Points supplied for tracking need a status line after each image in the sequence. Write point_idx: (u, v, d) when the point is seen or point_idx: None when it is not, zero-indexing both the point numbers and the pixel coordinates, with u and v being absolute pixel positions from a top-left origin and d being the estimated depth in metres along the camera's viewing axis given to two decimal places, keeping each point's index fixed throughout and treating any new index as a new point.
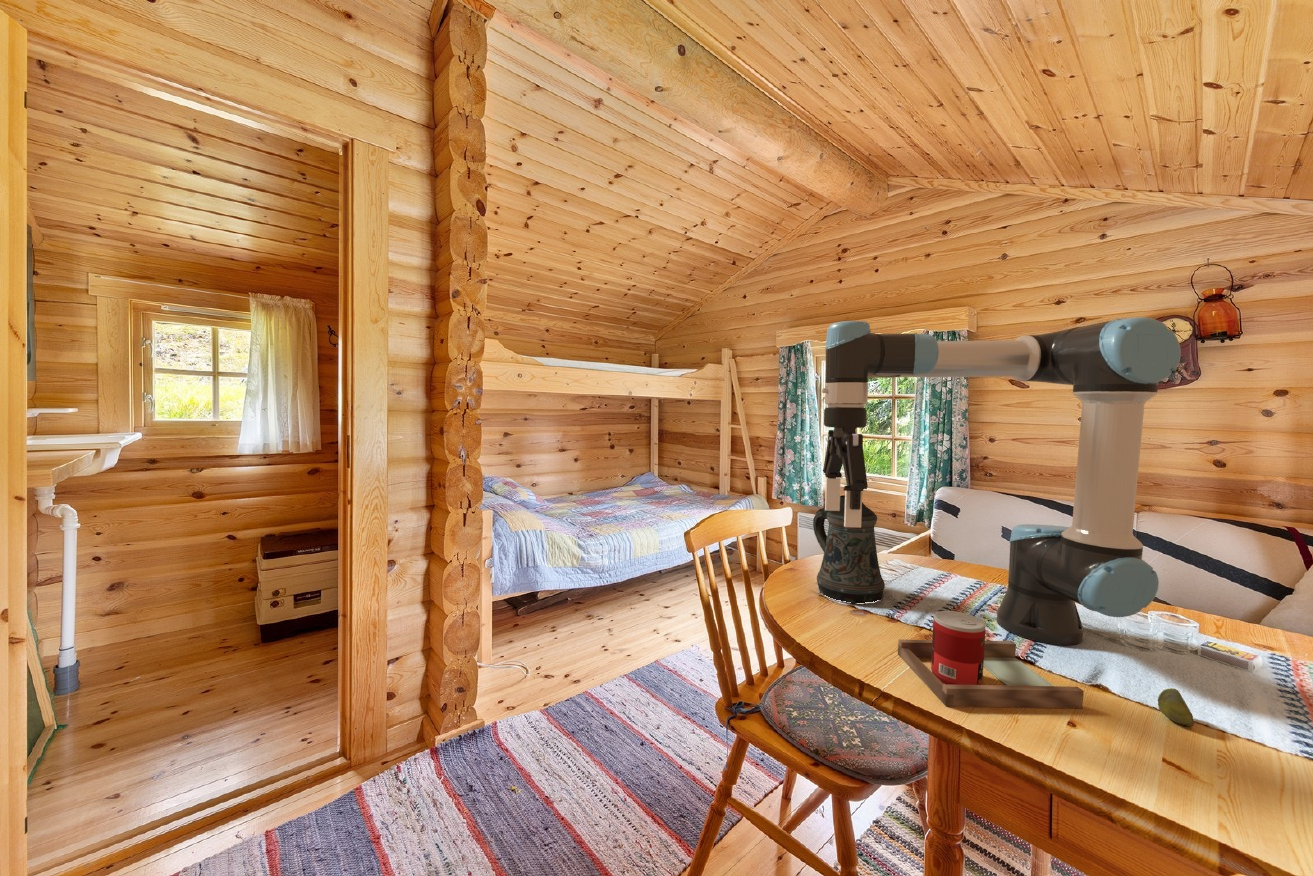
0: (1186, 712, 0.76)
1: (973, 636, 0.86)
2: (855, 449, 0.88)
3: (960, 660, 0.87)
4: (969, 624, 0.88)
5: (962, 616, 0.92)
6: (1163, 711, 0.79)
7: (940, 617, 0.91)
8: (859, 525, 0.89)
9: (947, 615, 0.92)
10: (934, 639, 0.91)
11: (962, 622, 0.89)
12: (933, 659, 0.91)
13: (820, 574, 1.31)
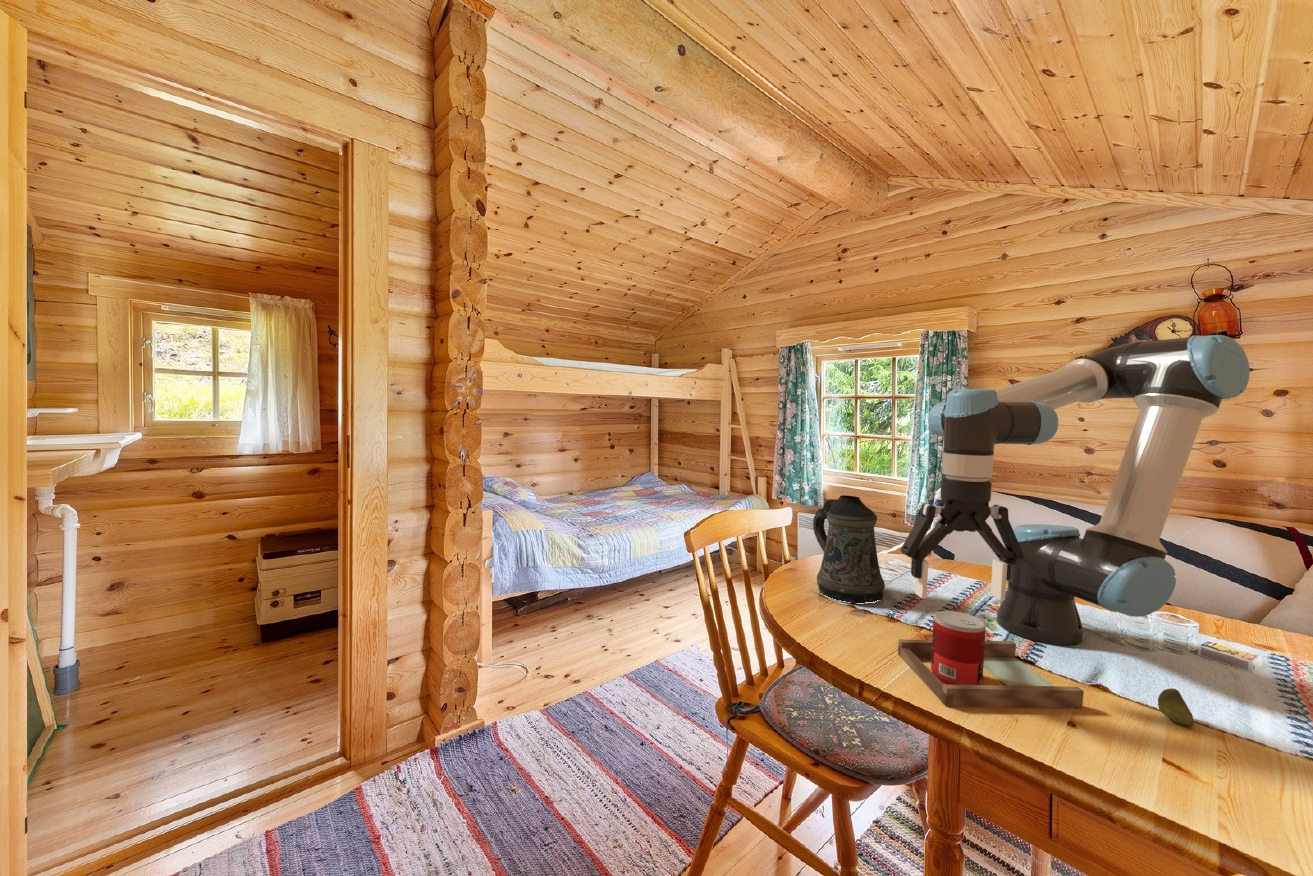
0: (1186, 712, 0.76)
1: (973, 636, 0.86)
2: (921, 518, 0.89)
3: (960, 660, 0.87)
4: (969, 624, 0.88)
5: (962, 616, 0.92)
6: (1163, 712, 0.79)
7: (940, 617, 0.91)
8: (921, 595, 0.89)
9: (947, 615, 0.92)
10: (934, 639, 0.91)
11: (962, 622, 0.89)
12: (933, 659, 0.91)
13: (820, 574, 1.31)
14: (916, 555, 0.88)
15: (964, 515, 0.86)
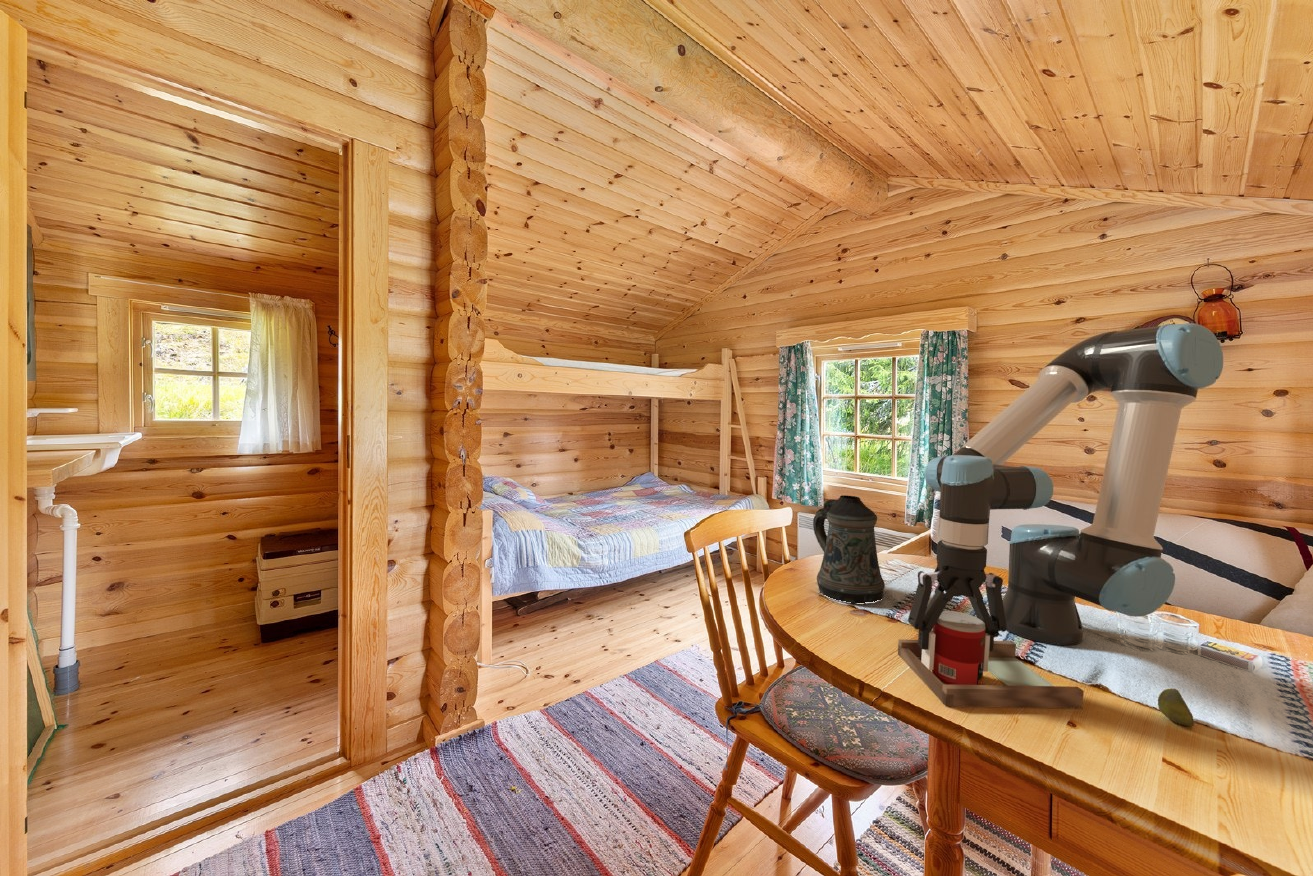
0: (1186, 712, 0.76)
1: (972, 636, 0.86)
2: (920, 588, 0.90)
3: (960, 660, 0.87)
4: (969, 624, 0.88)
5: (962, 616, 0.92)
6: (1163, 711, 0.79)
7: (940, 617, 0.91)
8: (928, 667, 0.89)
9: (947, 615, 0.92)
10: None
11: (962, 622, 0.89)
12: None
13: (820, 574, 1.31)
14: (923, 628, 0.89)
15: (959, 581, 0.87)
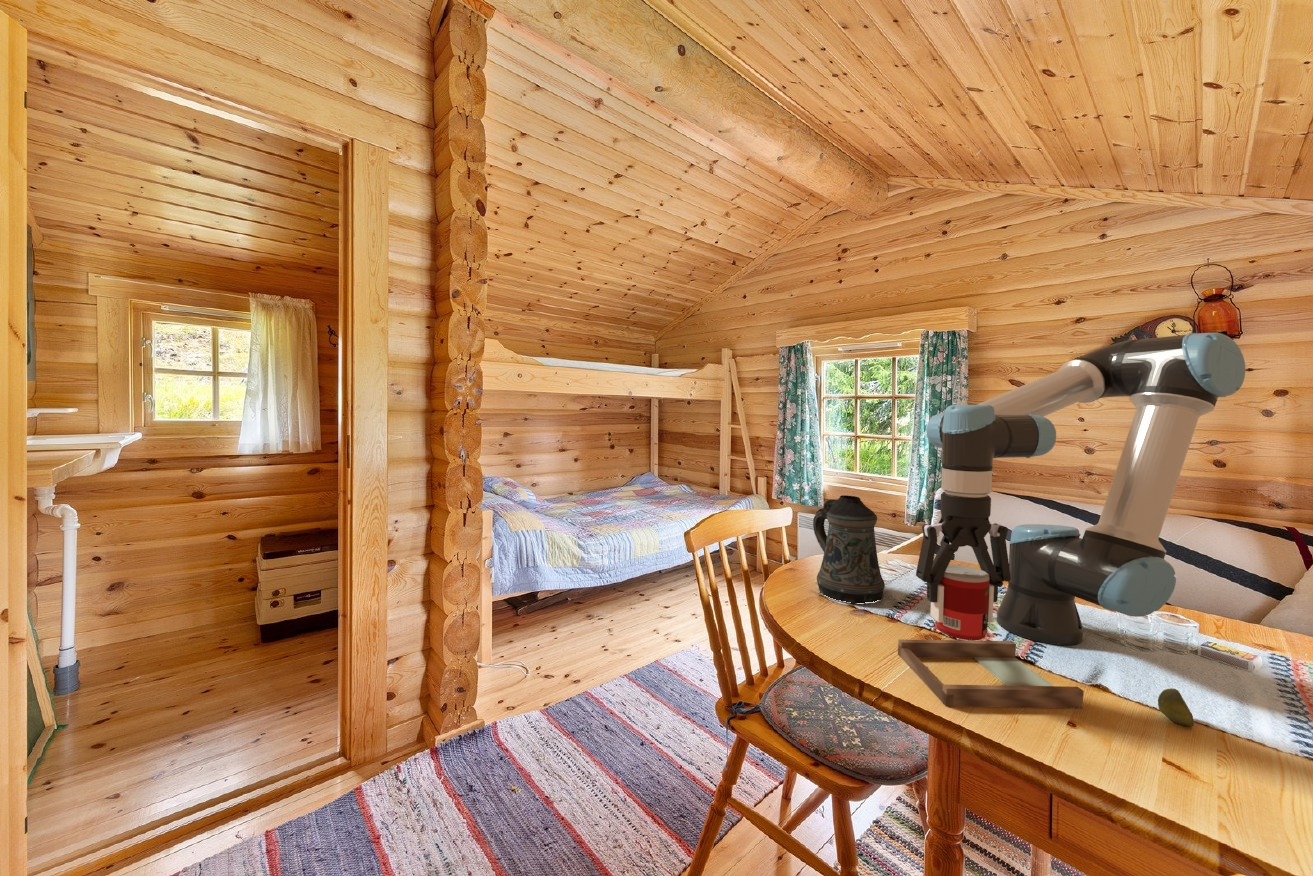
0: (1186, 712, 0.76)
1: (977, 586, 0.86)
2: (926, 541, 0.89)
3: (964, 611, 0.86)
4: (973, 575, 0.88)
5: (966, 569, 0.91)
6: (1163, 711, 0.79)
7: None
8: (937, 619, 0.89)
9: (950, 568, 0.92)
10: None
11: (966, 574, 0.89)
12: None
13: (820, 574, 1.31)
14: (931, 581, 0.89)
15: (964, 530, 0.87)
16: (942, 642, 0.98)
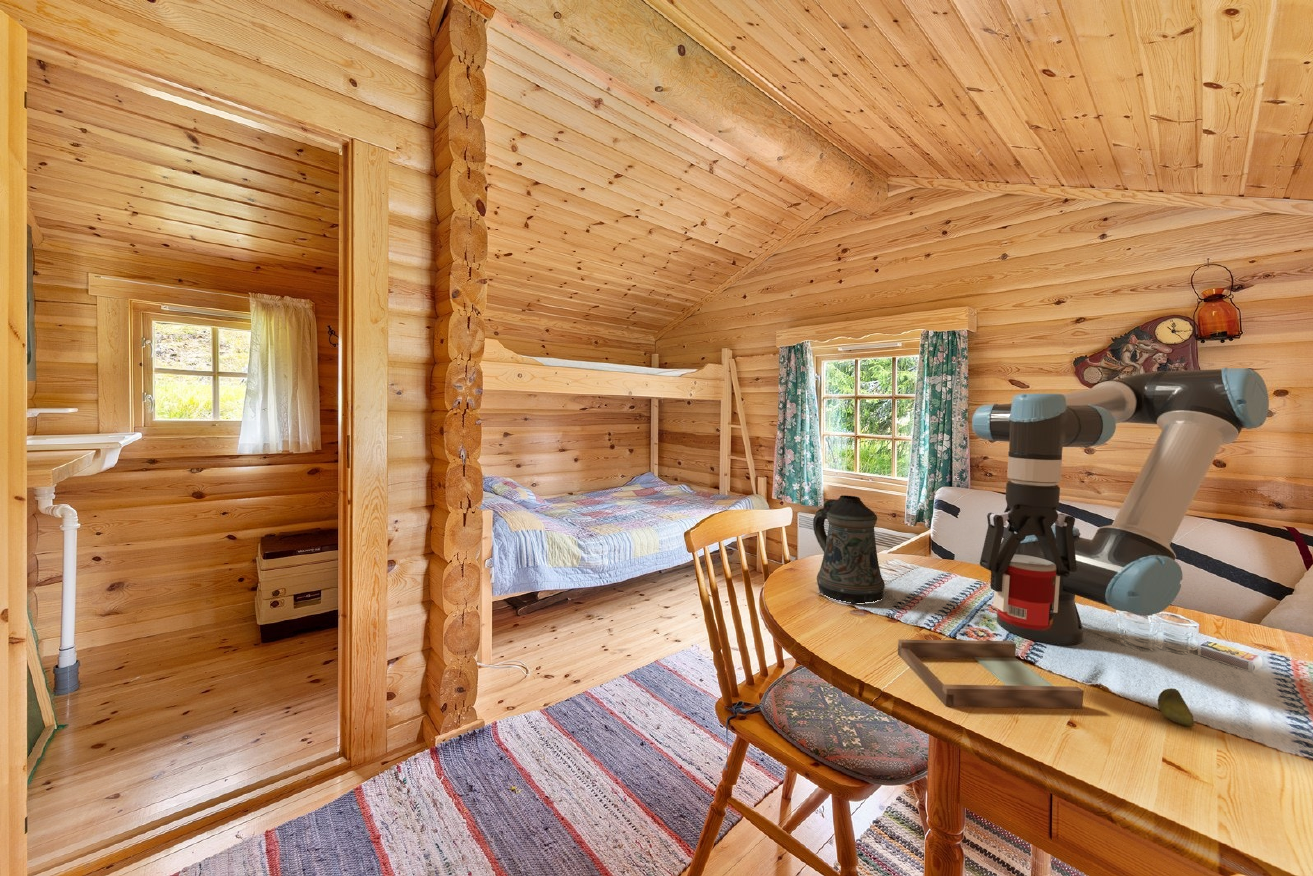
0: (1186, 712, 0.76)
1: (1044, 575, 0.85)
2: (991, 529, 0.89)
3: (1031, 600, 0.86)
4: (1039, 565, 0.87)
5: (1029, 559, 0.91)
6: (1163, 712, 0.79)
7: None
8: (1002, 609, 0.88)
9: (1014, 558, 0.91)
10: None
11: (1031, 563, 0.88)
12: None
13: (820, 574, 1.31)
14: (996, 570, 0.88)
15: (1032, 519, 0.86)
16: (942, 642, 0.98)
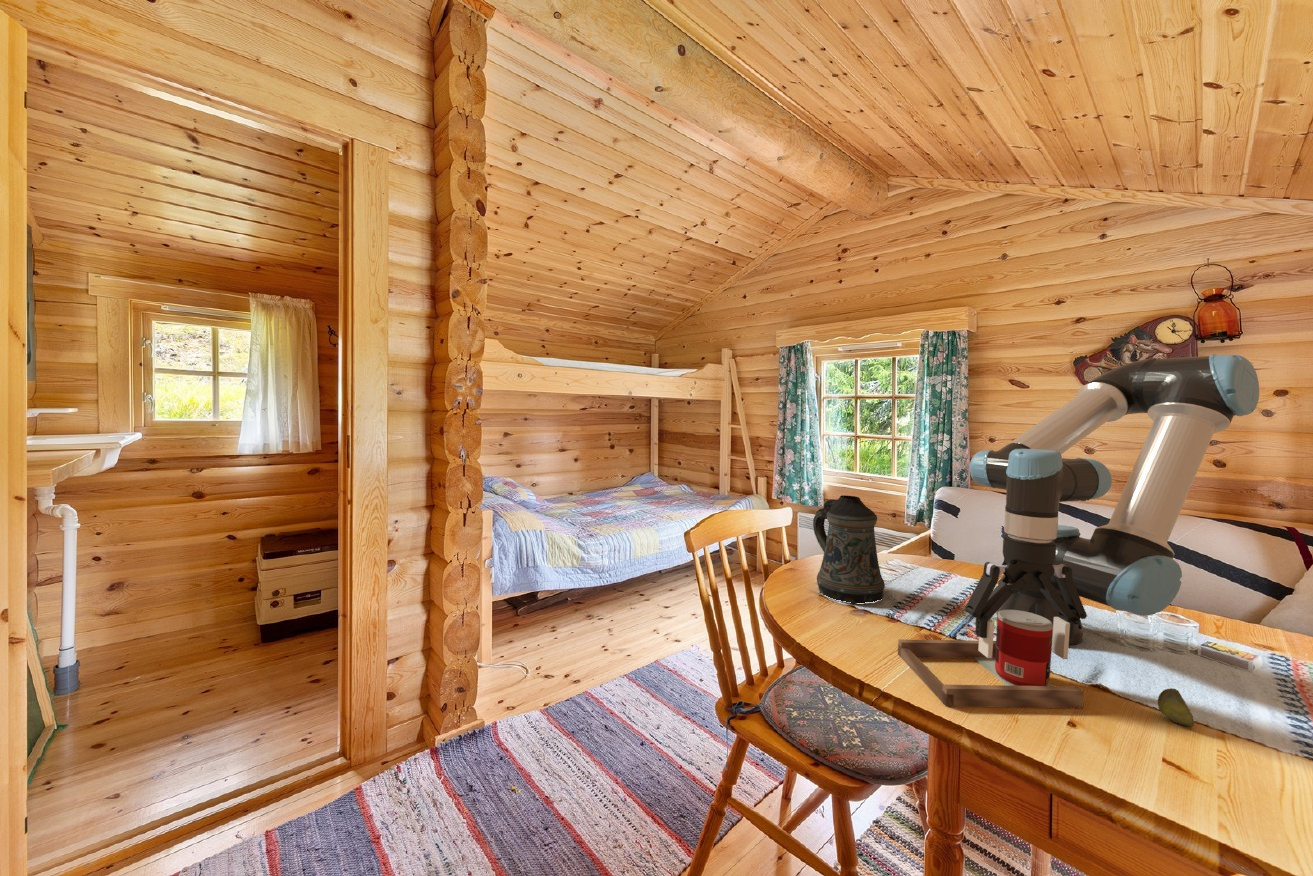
0: (1186, 712, 0.76)
1: (1041, 635, 0.86)
2: (985, 578, 0.89)
3: (1028, 659, 0.87)
4: (1036, 623, 0.88)
5: (1026, 615, 0.92)
6: (1163, 712, 0.79)
7: (1005, 616, 0.91)
8: (986, 655, 0.89)
9: (1011, 614, 0.92)
10: (999, 638, 0.91)
11: (1028, 621, 0.89)
12: (998, 658, 0.91)
13: (820, 574, 1.31)
14: (981, 615, 0.89)
15: (1029, 575, 0.87)
16: (942, 642, 0.98)
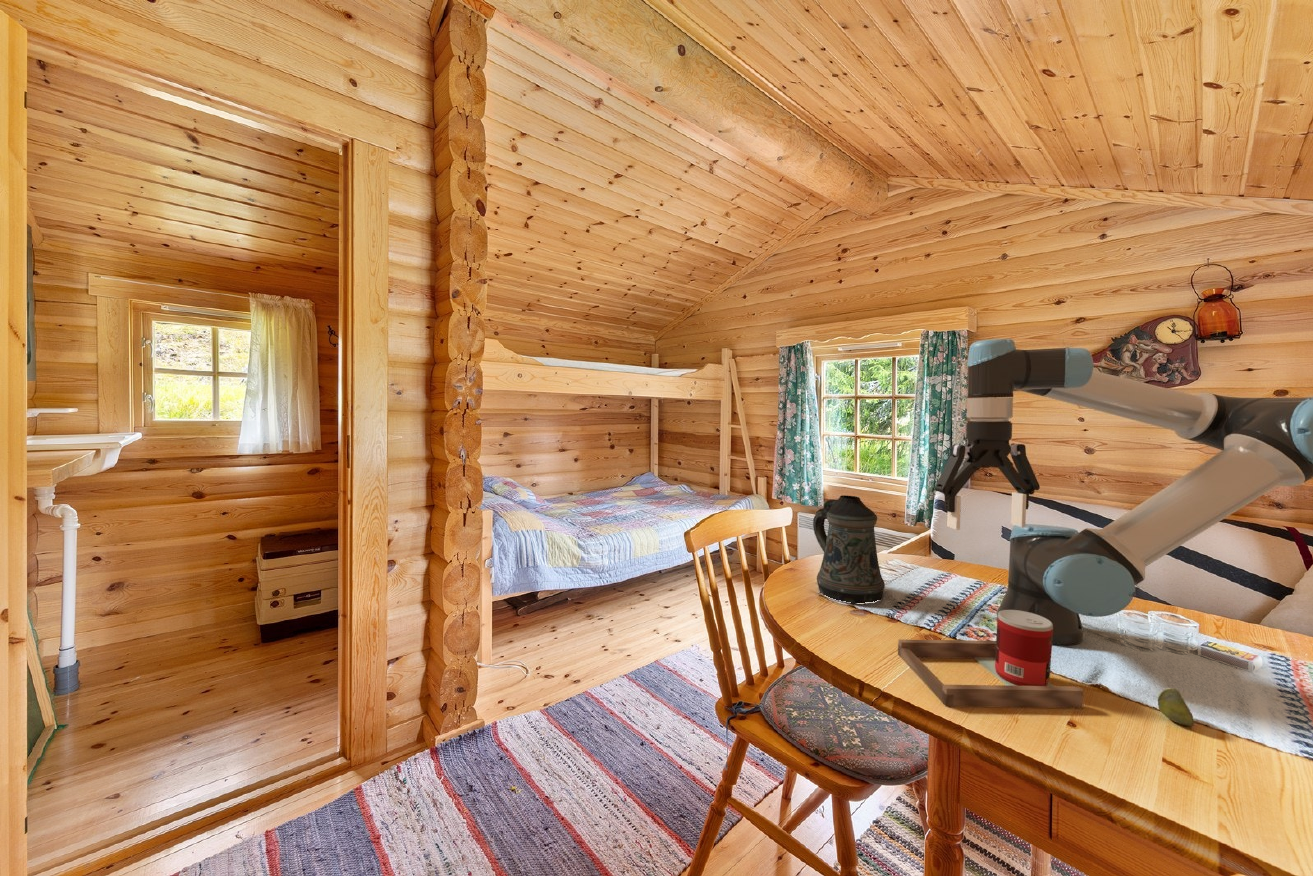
0: (1186, 712, 0.76)
1: (1041, 635, 0.86)
2: (952, 458, 0.99)
3: (1028, 659, 0.87)
4: (1036, 623, 0.88)
5: (1026, 615, 0.92)
6: (1163, 711, 0.79)
7: (1005, 616, 0.91)
8: (955, 527, 0.98)
9: (1011, 614, 0.92)
10: (999, 638, 0.90)
11: (1028, 621, 0.89)
12: (998, 658, 0.91)
13: (820, 574, 1.31)
14: (950, 491, 0.98)
15: (990, 452, 0.97)
16: (942, 642, 0.98)
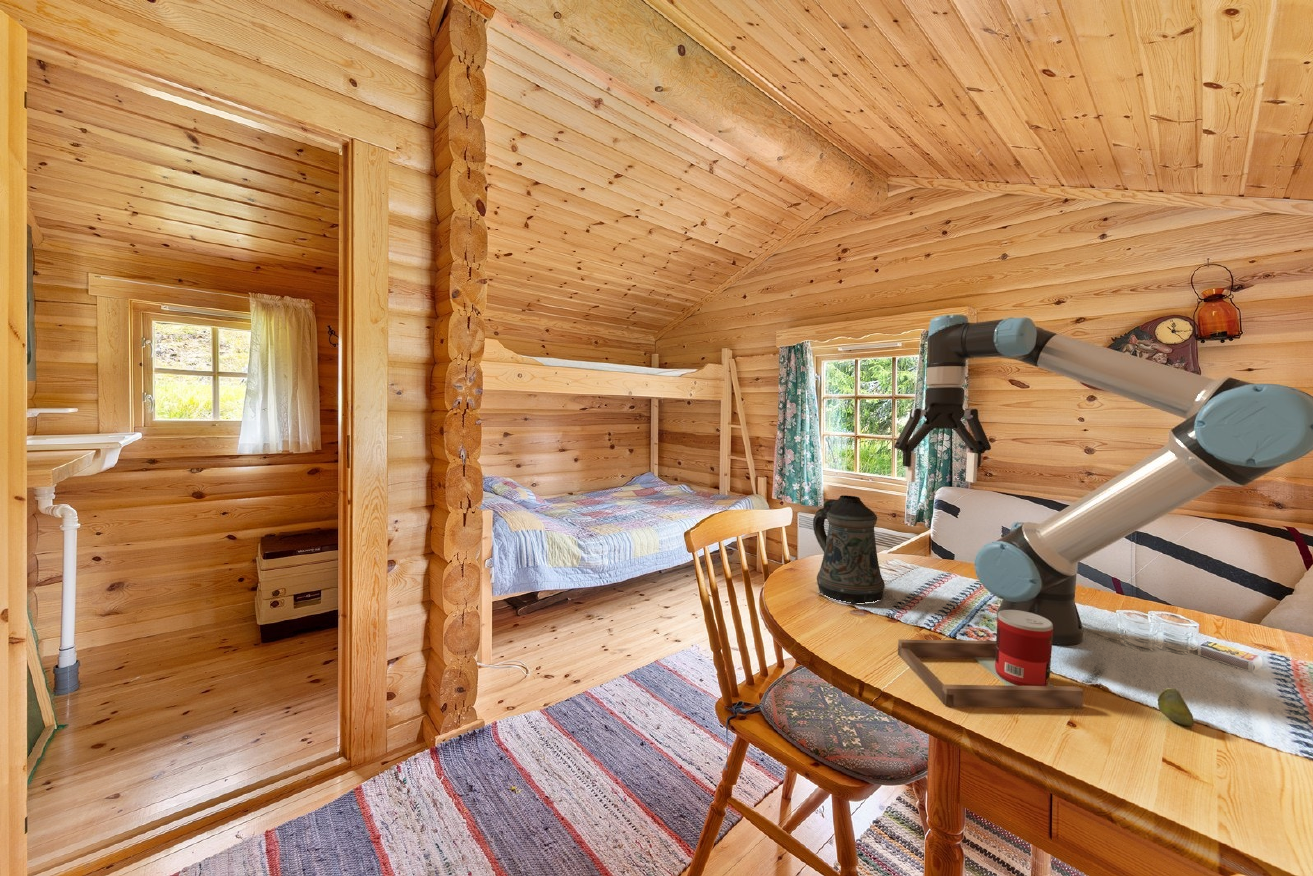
0: (1186, 712, 0.76)
1: (1041, 635, 0.86)
2: (910, 420, 1.13)
3: (1028, 659, 0.87)
4: (1036, 623, 0.88)
5: (1026, 615, 0.92)
6: (1163, 711, 0.79)
7: (1005, 616, 0.91)
8: (910, 480, 1.13)
9: (1011, 614, 0.92)
10: (999, 638, 0.90)
11: (1028, 621, 0.89)
12: (998, 658, 0.91)
13: (820, 574, 1.31)
14: (906, 448, 1.12)
15: (943, 415, 1.11)
16: (942, 642, 0.98)
